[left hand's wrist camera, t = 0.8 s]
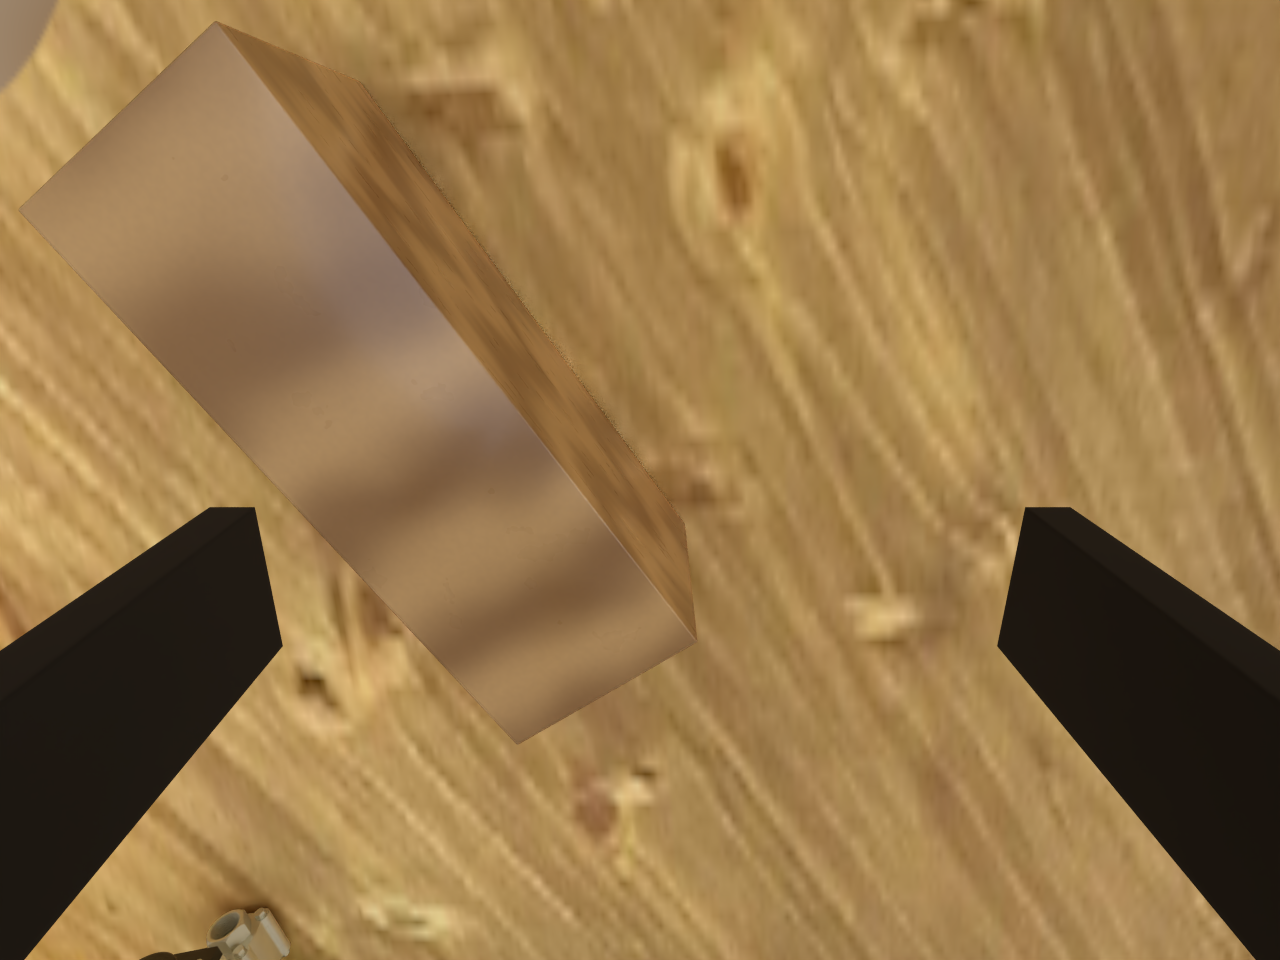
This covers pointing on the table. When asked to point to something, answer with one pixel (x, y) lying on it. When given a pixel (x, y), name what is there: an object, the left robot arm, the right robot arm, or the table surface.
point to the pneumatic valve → (238, 939)
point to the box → (377, 372)
